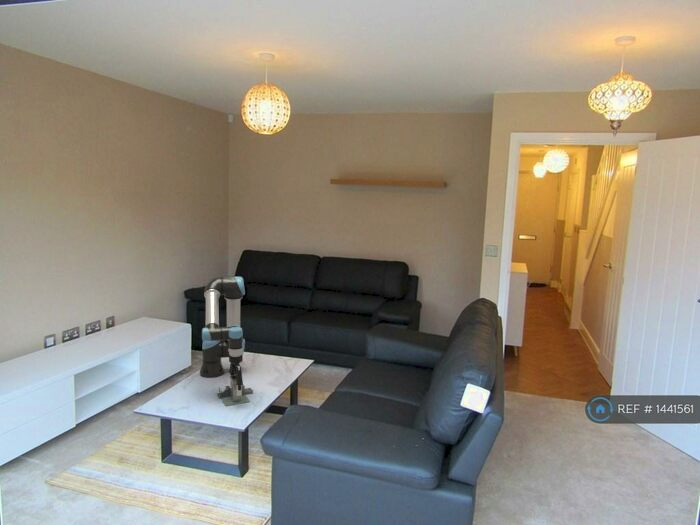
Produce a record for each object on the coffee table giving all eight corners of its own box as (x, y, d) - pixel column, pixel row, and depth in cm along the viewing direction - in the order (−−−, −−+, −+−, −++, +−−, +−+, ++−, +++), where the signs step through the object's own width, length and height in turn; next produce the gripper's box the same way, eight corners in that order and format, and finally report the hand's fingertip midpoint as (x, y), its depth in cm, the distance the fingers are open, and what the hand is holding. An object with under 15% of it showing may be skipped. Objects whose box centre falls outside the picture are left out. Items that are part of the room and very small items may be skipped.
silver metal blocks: (217, 395, 287) (217, 386, 286) (250, 390, 296) (250, 381, 296) (219, 399, 283) (219, 389, 282) (253, 393, 292) (253, 384, 291)
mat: (221, 400, 281) (221, 399, 281) (245, 395, 288) (245, 395, 288) (225, 406, 274) (225, 405, 274) (250, 402, 280) (250, 401, 280)
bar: (230, 399, 282) (230, 376, 280) (239, 397, 284) (239, 374, 282) (232, 402, 277) (232, 379, 275) (241, 401, 280) (241, 377, 278)
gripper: (223, 349, 286) (223, 383, 289) (234, 362, 264) (235, 400, 267) (236, 347, 289) (236, 381, 293) (248, 361, 268) (248, 397, 271)
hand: (235, 390), depth 280 cm, fingers open, 13 cm apart
